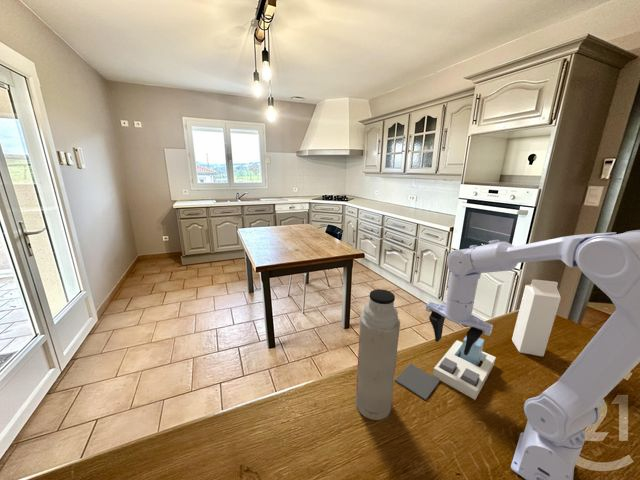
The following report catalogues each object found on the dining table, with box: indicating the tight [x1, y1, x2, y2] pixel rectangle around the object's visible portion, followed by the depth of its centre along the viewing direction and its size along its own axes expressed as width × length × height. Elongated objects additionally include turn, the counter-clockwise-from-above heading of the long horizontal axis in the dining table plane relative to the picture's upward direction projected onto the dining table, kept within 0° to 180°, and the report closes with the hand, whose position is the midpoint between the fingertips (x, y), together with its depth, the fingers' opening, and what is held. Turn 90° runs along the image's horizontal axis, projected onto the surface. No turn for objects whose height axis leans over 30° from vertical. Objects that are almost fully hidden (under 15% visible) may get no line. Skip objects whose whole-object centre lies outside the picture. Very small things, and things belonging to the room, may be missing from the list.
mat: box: [394, 363, 441, 402], centre depth 67 cm, size 8×8×1 cm
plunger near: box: [461, 368, 480, 387], centre depth 64 cm, size 3×3×3 cm
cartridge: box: [459, 335, 485, 367], centre depth 72 cm, size 4×4×8 cm
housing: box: [432, 339, 497, 401], centre depth 70 cm, size 16×10×2 cm, turn 134°
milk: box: [511, 279, 562, 357], centre depth 76 cm, size 6×6×22 cm
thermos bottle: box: [355, 288, 401, 421], centre depth 56 cm, size 8×8×28 cm
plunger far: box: [440, 358, 457, 374], centre depth 68 cm, size 3×3×3 cm
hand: (451, 346), depth 66 cm, fingers open, 6 cm apart
